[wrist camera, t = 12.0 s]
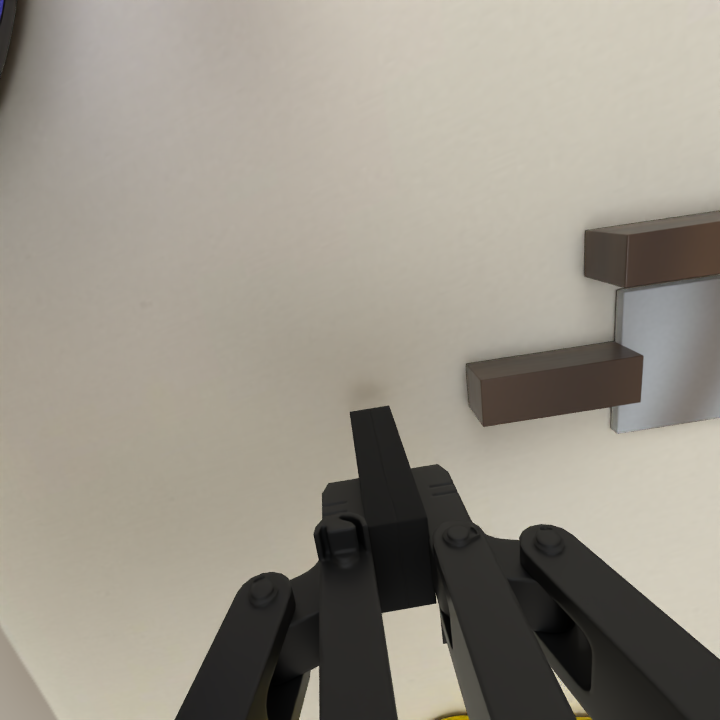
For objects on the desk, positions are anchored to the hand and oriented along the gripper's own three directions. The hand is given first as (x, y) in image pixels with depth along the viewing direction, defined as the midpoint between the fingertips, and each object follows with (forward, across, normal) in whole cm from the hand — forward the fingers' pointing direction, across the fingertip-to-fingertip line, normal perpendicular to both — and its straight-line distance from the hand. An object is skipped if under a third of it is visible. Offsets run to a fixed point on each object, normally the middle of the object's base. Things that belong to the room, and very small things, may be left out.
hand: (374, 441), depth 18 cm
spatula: (+4, +13, 0) cm, 14 cm away
